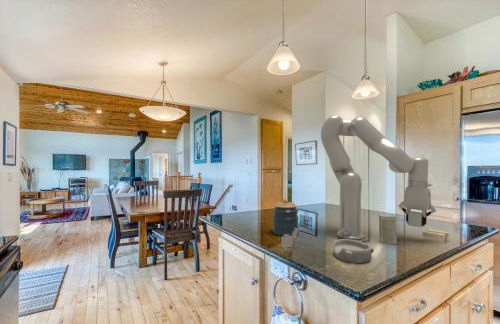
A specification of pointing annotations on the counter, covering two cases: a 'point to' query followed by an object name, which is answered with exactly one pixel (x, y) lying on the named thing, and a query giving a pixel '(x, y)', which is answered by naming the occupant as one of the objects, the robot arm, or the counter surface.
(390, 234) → the skincare box
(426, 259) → the counter surface
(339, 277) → the counter surface
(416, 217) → the grey-green block
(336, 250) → the dish
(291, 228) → the canister
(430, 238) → the beech block
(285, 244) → the lighter
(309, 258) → the counter surface
